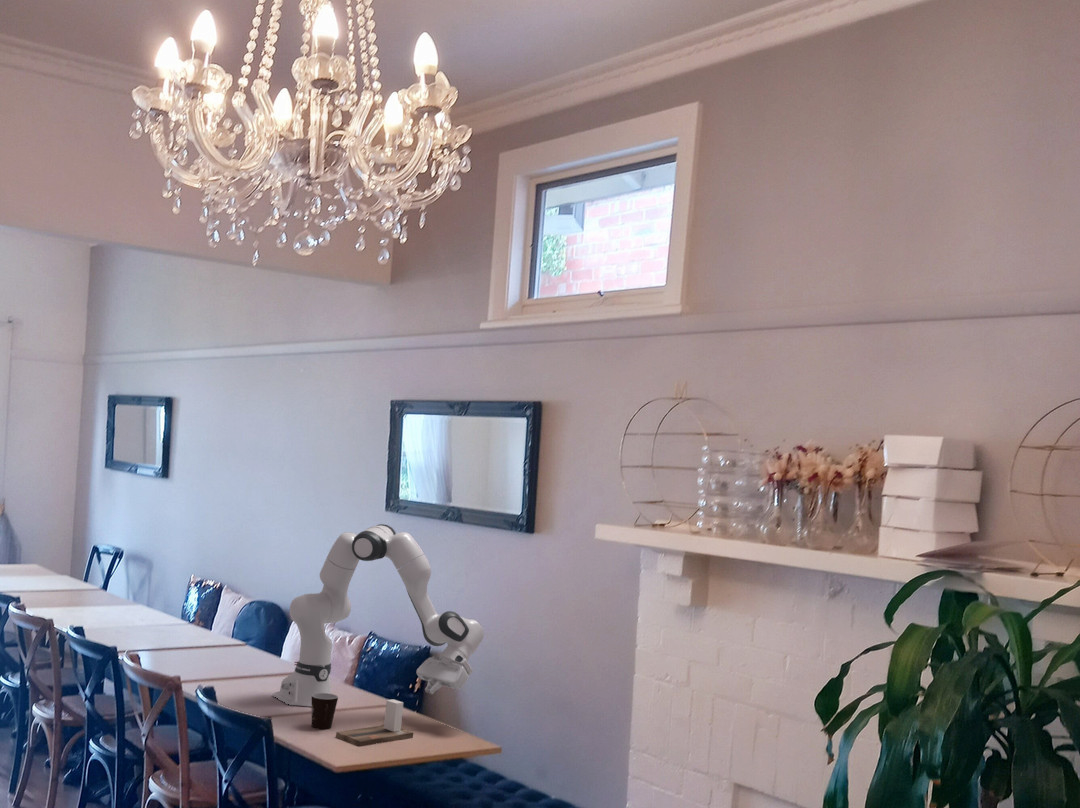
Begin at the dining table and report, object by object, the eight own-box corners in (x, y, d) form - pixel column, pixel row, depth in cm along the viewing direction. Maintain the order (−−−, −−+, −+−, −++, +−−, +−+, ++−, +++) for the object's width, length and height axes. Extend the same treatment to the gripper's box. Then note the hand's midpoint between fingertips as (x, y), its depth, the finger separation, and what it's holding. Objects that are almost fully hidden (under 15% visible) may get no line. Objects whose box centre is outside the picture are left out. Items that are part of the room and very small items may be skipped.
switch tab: (383, 728, 331) (386, 700, 331) (390, 727, 333) (393, 699, 334) (393, 731, 327) (396, 703, 328) (400, 730, 330) (403, 702, 330)
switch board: (335, 736, 320) (336, 731, 321) (388, 728, 337) (389, 724, 337) (359, 746, 312) (360, 741, 313) (412, 737, 329) (413, 732, 329)
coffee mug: (312, 722, 335) (316, 691, 336) (338, 725, 334) (341, 695, 335) (301, 730, 324) (304, 699, 325) (327, 734, 323) (330, 702, 324)
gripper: (427, 649, 355) (403, 679, 347) (468, 660, 342) (445, 692, 334) (435, 661, 358) (412, 691, 350) (476, 672, 345) (453, 704, 337)
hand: (428, 692), depth 342 cm, fingers closed
